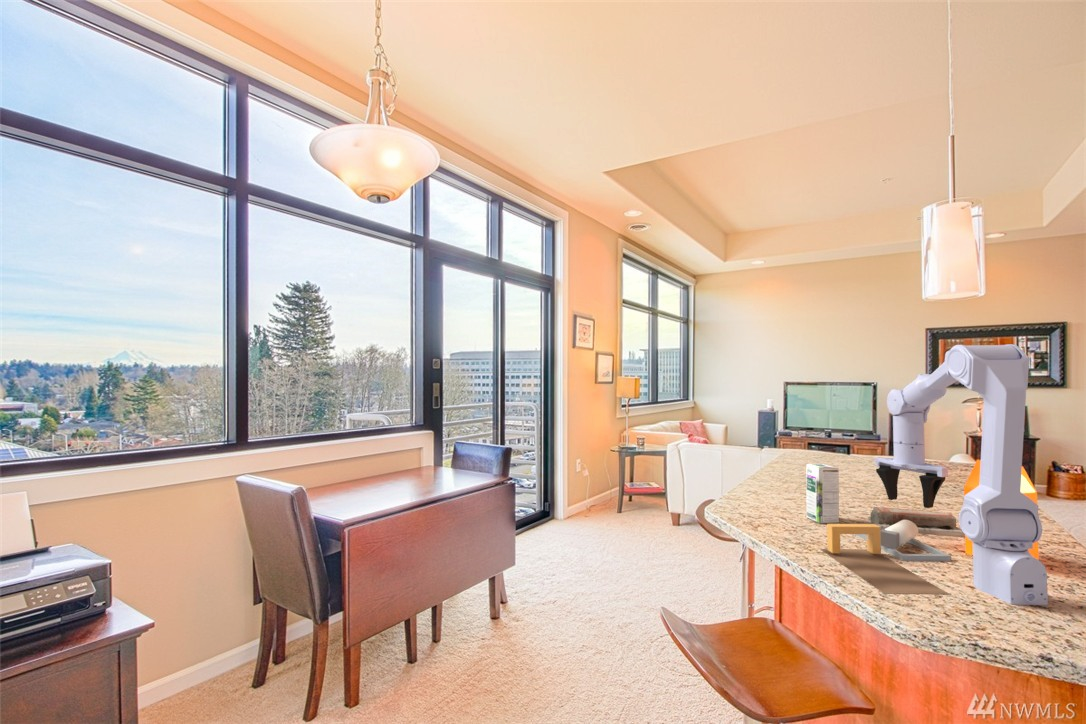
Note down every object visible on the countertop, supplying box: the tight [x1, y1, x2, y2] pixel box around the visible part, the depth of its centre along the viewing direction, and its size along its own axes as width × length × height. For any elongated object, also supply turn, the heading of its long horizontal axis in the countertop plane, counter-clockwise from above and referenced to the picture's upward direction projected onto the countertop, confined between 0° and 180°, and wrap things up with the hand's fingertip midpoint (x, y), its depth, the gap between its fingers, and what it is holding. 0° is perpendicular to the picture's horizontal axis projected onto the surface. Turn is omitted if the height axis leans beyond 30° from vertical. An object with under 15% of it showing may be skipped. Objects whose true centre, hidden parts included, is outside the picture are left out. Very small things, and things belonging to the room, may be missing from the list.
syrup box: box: [805, 462, 840, 524], centre depth 134 cm, size 6×6×14 cm
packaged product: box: [867, 506, 965, 538], centre depth 127 cm, size 18×5×10 cm
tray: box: [854, 534, 952, 562], centre depth 110 cm, size 17×10×2 cm, turn 178°
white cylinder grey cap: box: [881, 520, 919, 550], centre depth 110 cm, size 11×4×4 cm, turn 126°
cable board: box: [819, 548, 951, 596], centre depth 98 cm, size 22×11×1 cm, turn 178°
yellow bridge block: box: [826, 523, 882, 555], centre depth 106 cm, size 2×10×6 cm, turn 88°
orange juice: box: [963, 459, 1040, 561], centre depth 106 cm, size 8×9×20 cm
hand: (909, 503), depth 114 cm, fingers open, 7 cm apart
